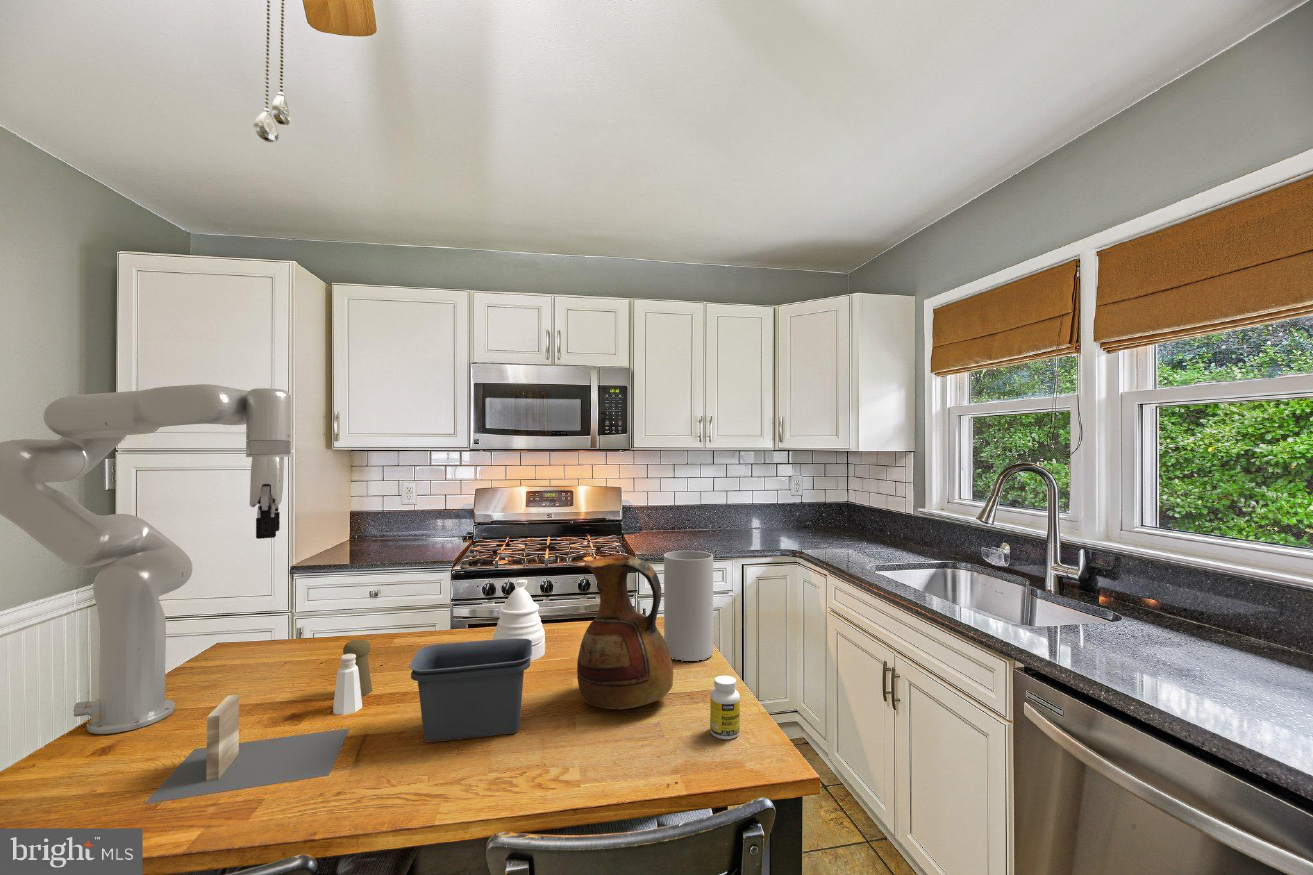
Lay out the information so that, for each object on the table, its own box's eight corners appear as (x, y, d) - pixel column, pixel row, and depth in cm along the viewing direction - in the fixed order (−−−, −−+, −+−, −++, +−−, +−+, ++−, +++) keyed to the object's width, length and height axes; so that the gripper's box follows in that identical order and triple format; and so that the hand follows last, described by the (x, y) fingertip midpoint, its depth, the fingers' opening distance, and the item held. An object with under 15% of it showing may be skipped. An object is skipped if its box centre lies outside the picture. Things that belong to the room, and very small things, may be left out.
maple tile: (206, 781, 89) (207, 716, 89) (227, 754, 97) (227, 695, 97) (218, 779, 90) (219, 715, 90) (238, 753, 97) (239, 694, 98)
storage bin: (404, 753, 98) (405, 670, 99) (422, 712, 113) (422, 640, 114) (531, 740, 103) (531, 660, 103) (532, 702, 118) (532, 632, 118)
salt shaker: (341, 719, 110) (342, 662, 111) (326, 713, 113) (326, 657, 113) (368, 709, 115) (369, 653, 115) (353, 702, 118) (353, 648, 118)
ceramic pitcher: (593, 677, 131) (593, 545, 131) (680, 684, 127) (680, 549, 127) (562, 716, 112) (562, 562, 112) (663, 727, 107) (663, 567, 108)
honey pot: (505, 643, 153) (505, 576, 153) (551, 646, 151) (551, 577, 151) (484, 661, 140) (484, 588, 141) (534, 664, 138) (534, 589, 139)
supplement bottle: (721, 743, 102) (720, 687, 102) (704, 729, 106) (704, 676, 107) (745, 736, 104) (745, 681, 104) (728, 723, 109) (728, 671, 109)
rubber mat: (143, 807, 84) (143, 804, 84) (194, 751, 99) (194, 748, 99) (328, 778, 91) (328, 775, 91) (349, 730, 106) (349, 728, 106)
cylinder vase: (688, 641, 154) (688, 548, 155) (723, 654, 145) (723, 555, 146) (653, 653, 146) (653, 554, 146) (689, 667, 137) (688, 562, 137)
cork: (358, 699, 119) (359, 646, 119) (333, 697, 120) (334, 644, 121) (378, 687, 125) (378, 637, 125) (354, 685, 126) (354, 635, 126)
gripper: (250, 449, 121) (250, 530, 121) (240, 450, 106) (239, 542, 106) (292, 449, 125) (292, 528, 125) (288, 450, 110) (287, 539, 110)
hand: (268, 534), depth 116 cm, fingers open, 9 cm apart
